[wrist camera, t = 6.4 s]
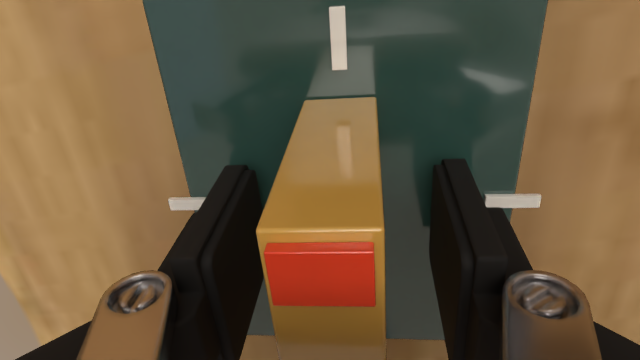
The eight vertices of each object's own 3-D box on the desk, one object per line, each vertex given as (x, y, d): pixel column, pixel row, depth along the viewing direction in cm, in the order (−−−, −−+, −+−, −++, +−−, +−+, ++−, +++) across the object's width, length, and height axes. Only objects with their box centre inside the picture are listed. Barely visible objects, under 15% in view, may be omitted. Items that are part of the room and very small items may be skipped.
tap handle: (380, 283, 14) (388, 488, 9) (322, 283, 14) (296, 483, 9) (377, 95, 11) (385, 239, 6) (303, 99, 11) (249, 240, 6)
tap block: (487, 279, 17) (510, 346, 14) (230, 276, 18) (205, 338, 15) (536, -39, 12) (588, -29, 9) (167, -14, 13) (112, 1, 10)
